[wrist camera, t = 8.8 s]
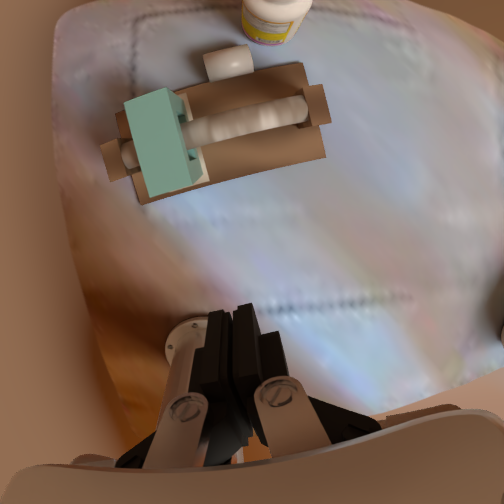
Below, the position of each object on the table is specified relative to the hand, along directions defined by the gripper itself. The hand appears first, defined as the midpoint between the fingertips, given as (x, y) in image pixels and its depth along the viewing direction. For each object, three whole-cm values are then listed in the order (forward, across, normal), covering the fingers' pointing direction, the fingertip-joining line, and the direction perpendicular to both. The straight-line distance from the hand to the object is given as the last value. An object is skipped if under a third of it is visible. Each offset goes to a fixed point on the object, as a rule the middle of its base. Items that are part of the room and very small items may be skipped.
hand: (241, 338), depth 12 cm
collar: (+26, +5, -9) cm, 28 cm away
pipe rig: (+27, 0, -9) cm, 29 cm away
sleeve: (+26, -3, -18) cm, 32 cm away
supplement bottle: (+27, -9, -21) cm, 36 cm away
